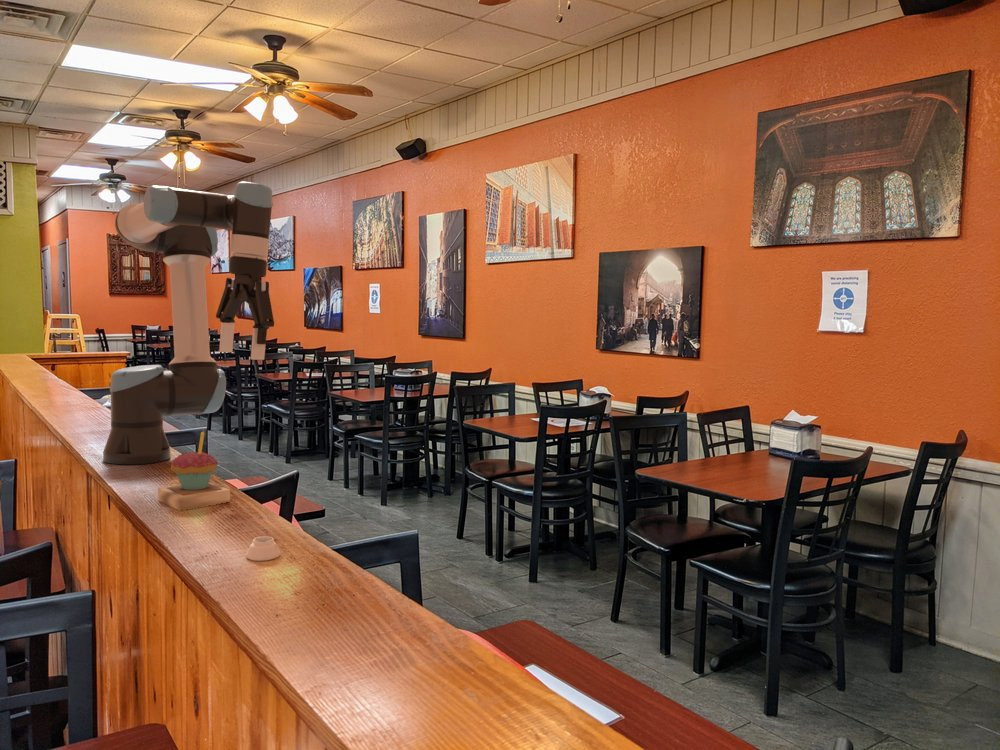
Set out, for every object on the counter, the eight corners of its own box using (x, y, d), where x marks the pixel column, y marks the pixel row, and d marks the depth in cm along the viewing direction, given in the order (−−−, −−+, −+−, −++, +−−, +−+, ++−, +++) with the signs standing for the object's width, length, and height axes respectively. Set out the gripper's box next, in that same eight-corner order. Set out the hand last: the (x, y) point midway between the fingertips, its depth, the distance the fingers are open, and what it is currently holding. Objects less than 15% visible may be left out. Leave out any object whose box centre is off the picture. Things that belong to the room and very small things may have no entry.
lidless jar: (252, 551, 116) (241, 562, 111) (252, 533, 116) (241, 543, 111) (283, 552, 116) (274, 563, 111) (284, 534, 116) (274, 544, 111)
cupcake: (224, 483, 148) (225, 425, 147) (203, 493, 140) (203, 432, 139) (184, 481, 149) (184, 423, 148) (161, 491, 141) (161, 430, 140)
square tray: (158, 500, 144) (158, 487, 144) (207, 492, 151) (207, 480, 151) (179, 510, 137) (179, 496, 137) (230, 502, 144) (230, 488, 144)
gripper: (296, 261, 149) (288, 363, 151) (236, 257, 166) (229, 349, 168) (263, 256, 144) (255, 362, 145) (204, 253, 160) (197, 348, 162)
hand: (241, 355), depth 157 cm, fingers open, 13 cm apart
